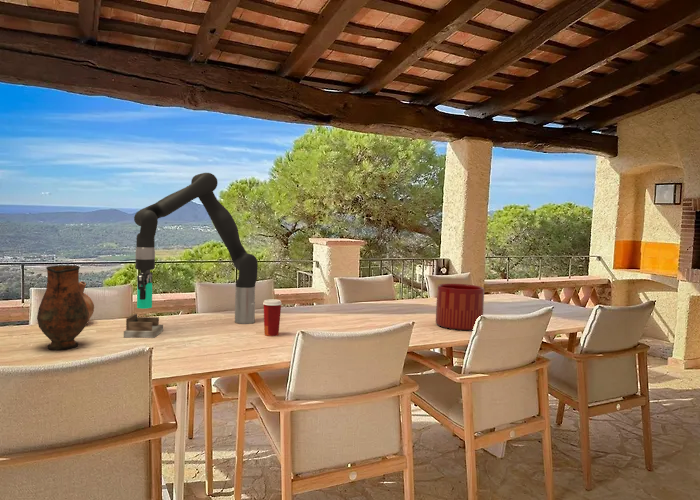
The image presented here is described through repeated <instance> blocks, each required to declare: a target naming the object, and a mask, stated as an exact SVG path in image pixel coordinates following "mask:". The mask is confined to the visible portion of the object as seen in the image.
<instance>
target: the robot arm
mask: <svg viewBox="0 0 700 500" xmlns="http://www.w3.org/2000/svg"><path fill="white" fill-rule="evenodd" d="M217 187H218V179H217V177H216V175H215V174H213V173H212V172H202V173H199V174H195V175H194V176H193V177H192V178H191V183H190V184H188V185H187V186H186V187H184V188H182V189H179V190H177V191H175V192H173V193H171V194H168V195H167V196H165V197H163V198H161V199H160V200H158V201H156V202H155V203H153V204H151V205H150V204H149V205H148V206H144V207H143V208H141V209H139V210H138V211H137V212H136V213H135V215H134V217H133V219H134V220H133V221H134V222H135V224H136V225H137V226H138V227H140V229H139V233H137V236H136V241H135V243H136V245H135V246H136V247H135V248H136V249H135V269H136V270H139V271H140V272H139V274H138V275H137V276H136V280H137V283H138V289H139V290H140V299H141V300H145V299H146V285H147V284H148V283H152V284H153V275H154V273H153V272H151V271H152V270H155V268H156V266H155V265H156V250H155V239H156V238H155V237H156V233H157V229H158V221H159V219H161V218H164V217H167V216H169V215H171V214H172V213H173V212H175V211H178V210H179V209H180V208H182V207H184V206H185V205H187V204H188V203H190V202H192V201H194V200H195V199H198V200H199V201H200V202H201V204H202V205H203V207H204V209H205V211H206V213H207V215H208V216H209V219H210V220H211V221H212V225H214V226H213V227H214V228H215V230H216V231H217V234H218V235H219V237H220V238H221V240H222V243H223V244H224V246H225V247H226V249H227V251H228V253H229V256H230V258H231V261H232V264H233V265H234V268H235V269H236V270H237V271H238V277H237V279H236V280H235V290H234V292H235V295H234V296H235V297H234V301H235V303H234V304H235V305H234V323H236V324H243V325H244V324H255V318H256V317H255V316H256V301H255V300H256V282H257V280H258V269H259V268H258V266H259V263H258V260H257V259H258V258H257V257H256V256H255V255H254V254H251V253H248V252H247V251H246V249H245V248H244V246H243V244H242V241H241V239H240V233H239V229H238V226H237V224H236V221H235V219H234V217H233V216H232V214H231V213H230V211H229V210H228V209H227V208H226V207H225V206H223V204H222V203H221V202H220V201H219V200H218V198H217V197H216V195H215V193H214V191H215V190H216V189H217ZM141 285H143V287H141Z"/></svg>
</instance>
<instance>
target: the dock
mask: <svg viewBox="0 0 700 500" xmlns="http://www.w3.org/2000/svg"><path fill="white" fill-rule="evenodd" d="M125 322H126V323H125V325H126V326H125V329H124V331H123V338H125V339H127V338H130V339H131V338H132V339H134V338H137V339H138V338H140V339H141V338H143V339H144V338H145V339H155V338H156V337H157V336H158V335H159V334H161V333H162V332H163V331H164V324H160V318H159V316H157V317H156V316H152V317H151V316H150V317H149V316H138V313H134V314H132V315H130V316H128V317H127V318H126V319H125Z"/></svg>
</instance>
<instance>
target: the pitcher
mask: <svg viewBox="0 0 700 500" xmlns="http://www.w3.org/2000/svg"><path fill="white" fill-rule="evenodd" d="M45 268H46V273H47V274H46V275H47V282H46V289H45V291H44V294H43V297H42V299H41V301H40V304H39V307H38V311H37V316H36V317H37V318H36V319H37V320H36V321H37V324H38V327H39V329H40V331H41V332H42V333H43V334H44V335H45V337H46V338H47V339H49V341H51V342H50V343H49V344H48V345H47V346H46V347H47V349H48V350H50V351H65V350H70V349H75V348H76V347H78V346H79V343H78V342H77V341H75V339H76V338H77V337H78V336H79V335H80V334H81V333H82V332H83V330H84V329H85V327H86V326H87V324H88V323H89V320H88V317H89V312H88V308H87V304H86V302H85V300H84V298H83V296H82V293H81V291H80V288H79V283H80V280H79V277H80V276H79V275H80V274H79V272H80V266H79V265H67V264H66V265H65V264H64V265H51V266H47V267H45Z"/></svg>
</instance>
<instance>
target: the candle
mask: <svg viewBox="0 0 700 500" xmlns="http://www.w3.org/2000/svg"><path fill="white" fill-rule="evenodd" d="M141 287H143V285H141ZM136 289H137V292H136V308H137V309H140V310H141V309H152V308H153V282H152V283H148V284H147V285H146V299H145V300H141V299H140V290H139V289H138V283H137V288H136Z"/></svg>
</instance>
